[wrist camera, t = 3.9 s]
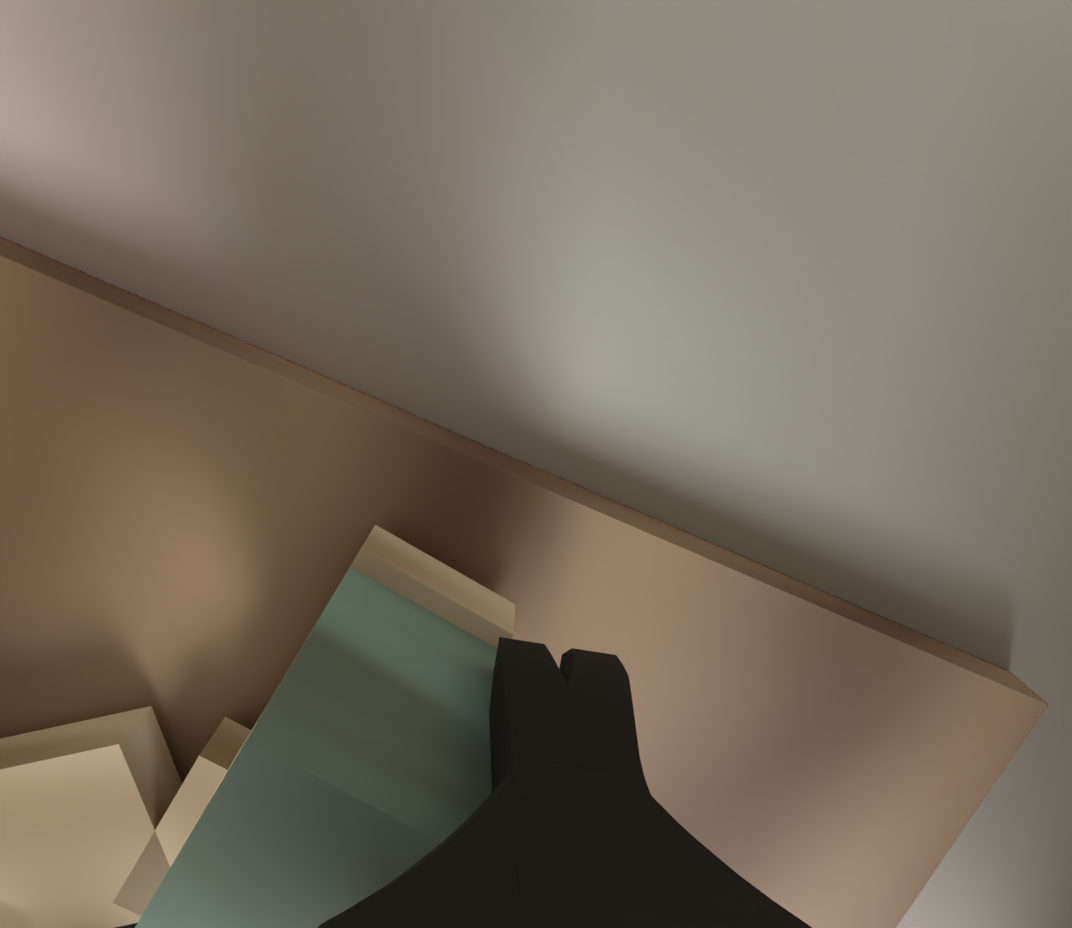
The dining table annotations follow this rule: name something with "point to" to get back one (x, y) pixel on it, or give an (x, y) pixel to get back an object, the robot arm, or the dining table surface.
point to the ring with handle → (270, 773)
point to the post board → (471, 549)
